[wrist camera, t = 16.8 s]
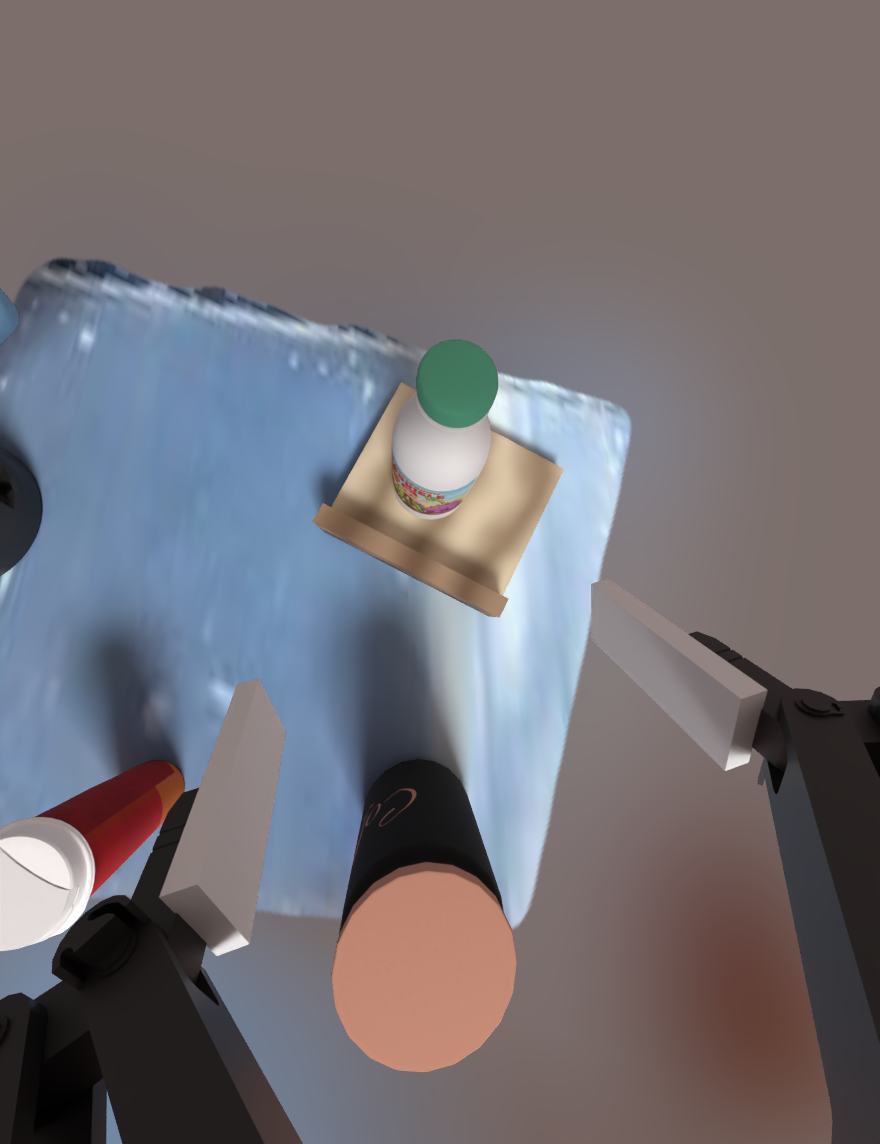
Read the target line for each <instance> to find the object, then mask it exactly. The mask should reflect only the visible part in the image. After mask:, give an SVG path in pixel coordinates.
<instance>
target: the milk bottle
mask: <svg viewBox="0 0 880 1144" xmlns="http://www.w3.org/2000/svg"><path fill="white" fill-rule="evenodd" d="M497 390H498V374H497V370H496V367H495V365H494V362H493V361H492V359H491V358H490V356H489V355H488V354H487V353H486V352H485V351H484V350H483V349H482V348H480V347H479V346H477V345H475V344H473V343H471V342H468V341H464V340H447V341H443V342H440V343H439V344H437V345H435V346H433V347H432V348H431V349H430V350H429V351H428V352H427V353H426V354H425V356H424V357H423V359H422V361H421V362H420V365H419V368H418V372H417V379H416V392H415V393H414V394H413V395H412V396H411V397H410V398H409V399H408V400H407V401H406V403H405V404H404V405H403V407H402V408H401V410H400V412H399V414H398V416H397V418H396V421H395V425H394V428H393V434H392V479H393V488H394V493H395V496H396V498H397V500H398V502H399V503H400V505H401V506H402V507H403V508H404V509H405V510H406V511H407V512H409V513H410V514H412V515H414V516H416V517H418V518H422V519H428V520H434V519H440V518H443V517H446V516H448V515H450V514H451V513H453V512H454V511H455V510H456V509H457V508H458V507H459V505H460V504H461V503H462V501H463V500H464V498H465V497H466V495H467V494H468V492H469V491H470V489H471V487H472V486H473V484H474V483H475V481H476V479H477V478H478V476H479V474H480V473H481V471H482V469H483V467H484V465H485V463H486V460H487V457H488V454H489V450H490V445H491V428H490V422H489V419H488V416H487V415H488V413H489V410H490V408H491V406H492V404H493V402H494V400H495V397H496V394H497Z"/></svg>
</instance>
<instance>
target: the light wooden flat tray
mask: <svg viewBox="0 0 880 1144" xmlns="http://www.w3.org/2000/svg"><path fill="white" fill-rule="evenodd" d="M415 392H416V390H415V389H413V388H411V387H409V386H407V385H406V384H404V383H402V382H401V383H400V385H399V387H398V389H397V391H396V392H395V394H394V396H393V398H392V399H391V401H390V403H389V405H388V407H387V408H386V410H385V412H384V414H383V416H382V417H381V419H380V421H379V423H378V424H377V426H376V428H375V430H374V432H373V433H372V435H371V437H370V439H369V440H368V442H367V444H366V446H365V448H364V449H363V451H362V453H361V455H360V456H359V458H358V460H357V462H356V464H355V465H354V467H353V469H352V471H351V473H350V474H349V476H348V478H347V480H346V481H345V483H344V485H343V487H342V489H341V490H340V492H339V494H338V496H337V497H336V499H335V501H334V503H333V505H332V506H331V507H330V506H328V505H326V504H324V503H323V504H322V506H321V507H320V509H319V511H318V513H317V514H316V516H315V518H314V520H313V522H314V523H315V524H316V525H317V526H318V527H319V528H320V529H321V530H323V531H324V532H326V533H328V534H329V535H331V536H333V537H335V538H337V539H339V540H341V541H343V542H345V543H347V544H349V545H351V546H353V547H355V548H357V549H359V550H361V551H363V552H365V553H366V554H368V555H370V556H372V557H374V558H376V559H378V560H380V561H382V562H384V563H386V564H388V565H390V566H392V567H394V568H396V569H398V570H400V571H402V572H403V573H405V574H407V575H409V576H411V577H413V578H415V579H417V580H419V581H421V582H423V583H425V584H427V585H429V586H431V587H433V588H435V589H437V590H439V591H440V592H442V593H444V594H446V595H448V596H450V597H452V598H454V599H456V600H458V601H460V602H462V603H464V604H466V605H468V606H470V607H472V608H474V609H475V610H477V611H479V612H481V613H483V614H485V615H487V616H492V617H500V615H501V613H502V611H503V609H504V607H505V605H506V603H507V601H508V598H506V597H504V596H503V594H504V592H505V590H506V588H507V586H508V584H509V582H510V580H511V578H512V575H513V573H514V571H515V569H516V567H517V565H518V563H519V561H520V559H521V557H522V555H523V553H524V551H525V549H526V547H527V544H528V542H529V540H530V538H531V536H532V534H533V532H534V530H535V528H536V526H537V524H538V522H539V520H540V518H541V516H542V513H543V511H544V509H545V507H546V505H547V503H548V501H549V499H550V497H551V495H552V493H553V491H554V489H555V487H556V485H557V482H558V480H559V478H560V476H561V474H562V472H563V470H564V469H563V468H561V467H559V466H557V465H555V464H553V463H552V462H550V461H548V460H546V459H544V458H542V457H540V456H538V455H537V454H535V453H533V452H531V451H529V450H527V449H525V448H524V447H522V446H520V445H518V444H516V443H514V442H512V441H510V440H509V439H507V438H505V437H503V436H501V435H499V434H497V433H495V432H494V431H492V430H491V445H490V450H489V454H488V457H487V460H486V463H485V465H484V467H483V469H482V471H481V473H480V474H479V476H478V478H477V479H476V481H475V483H474V484H473V486H472V487H471V489H470V491H469V492H468V494H467V495H466V497H465V498H464V500H463V501H462V503H461V504H460V505H459V507H458V508H457V509H456V510H455V511H454V512H453V513H451V514H450V515H448V516H446V517H443V518H440V519H434V520H428V519H422V518H418V517H416V516H414V515H412V514H410V513H409V512H407V511H406V510H405V509H404V508H403V507H402V506H401V505H400V503H399V502H398V500H397V498H396V496H395V493H394V488H393V479H392V434H393V428H394V425H395V421H396V418H397V416H398V414H399V412H400V410H401V408H402V407H403V405H404V404H405V403H406V401H407V400H408V399H409V398H410V397H411V396H412V395H413V394H414V393H415Z"/></svg>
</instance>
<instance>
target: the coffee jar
mask: <svg viewBox="0 0 880 1144" xmlns="http://www.w3.org/2000/svg"><path fill="white" fill-rule="evenodd" d="M516 963H517V959H516V953H515V946H514V940H513V934H512V929H511V927H510V925H509V922H508V920H507V918H506V916H505V914H504V911H503V905H502V899H501V895H500V892H499V889H498V886H497V883H496V880H495V877H494V874H493V871H492V868H491V865H490V862H489V859H488V856H487V853H486V850H485V847H484V844H483V841H482V838H481V835H480V832H479V829H478V826H477V823H476V820H475V817H474V814H473V811H472V808H471V805H470V802H469V799H468V796H467V794H466V792H465V790H464V788H463V786H462V784H461V782H460V780H459V779H458V778H457V777H456V776H455V775H454V774H453V773H452V772H451V771H450V770H449V769H448V768H446V767H444V766H442V765H440V764H438V763H436V762H434V761H427V760H419V759H416V760H411V761H406V762H401V763H399V764H397V765H396V766H394V767H392V768H390V769H388V770H387V771H385V772H384V773H383V774H382V776H381V777H380V778H379V779H378V780H377V781H376V782H375V783H374V784H373V786H372V788H371V790H370V792H369V794H368V796H367V798H366V801H365V806H364V811H363V816H362V820H361V825H360V830H359V835H358V840H357V845H356V850H355V855H354V860H353V865H352V870H351V875H350V880H349V884H348V889H347V894H346V899H345V904H344V909H343V915H342V921H341V927H340V932H339V938H338V941H337V946H336V951H335V957H334V963H333V969H332V974H331V975H332V983H333V992H334V1000H335V1007H336V1010H337V1012H338V1014H339V1017H340V1018H341V1021H342V1023H343V1025H344V1027H345V1029H346V1031H347V1034H348V1036H349V1037H350V1038H351V1039H352V1040H353V1041H354V1042H355V1043H356V1044H357V1045H358V1046H359V1047H360V1048H361V1049H362V1050H363V1051H364V1052H365V1053H366V1054H367V1055H368V1057H370V1058H372V1059H374V1060H376V1061H378V1062H380V1063H382V1064H384V1065H387V1066H389V1067H391V1068H393V1069H395V1070H403V1071H417V1072H428V1071H431V1070H435V1069H439V1068H442V1067H446V1066H449V1065H453V1064H455V1063H457V1062H458V1061H460V1060H461V1059H463V1058H464V1057H466V1056H467V1055H469V1054H470V1053H471V1052H473V1051H475V1050H476V1049H478V1048H479V1047H480V1046H481V1045H482V1044H483V1043H484V1042H485V1040H486V1039H487V1038H488V1037H489V1035H490V1034H491V1033H492V1032H493V1030H494V1029H495V1028H496V1027H497V1026H498V1024H499V1023H500V1022H501V1019H502V1017H503V1014H504V1012H505V1010H506V1007H507V1005H508V1003H509V1000H510V998H511V996H512V993H513V986H514V978H515V970H516Z"/></svg>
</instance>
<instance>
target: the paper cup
mask: <svg viewBox="0 0 880 1144" xmlns="http://www.w3.org/2000/svg"><path fill="white" fill-rule="evenodd" d="M184 789H185V785H184V779H183V776H182V774H181V772H180V771H179V770H178V768H177V767H176V766H174V765H173V764H171V763H169V762H166V761H162V760H154V761H149V762H146V763H143V764H141V765H139V766H137V767H134V768H132V769H130V770H128V771H126V772H124V773H122V774H120V775H118V776H116V777H114V778H112V779H110V780H107V781H105V782H103V783H101V784H99V785H97V786H95V787H92V788H90V789H88V790H86V791H84V792H83V793H81V794H79V795H77V796H75V797H73V798H71V799H69V800H67V801H65V802H63V803H62V804H60V805H58V806H56V807H54V808H52V809H50V810H48V811H46V812H44V813H42V814H40V815H38V816H36V817H32V818H27V819H22V820H19V821H16V822H13V823H11V824H9V825H7V826H5V827H4V828H2V829H0V951H4V950H12V949H17V948H22V947H25V946H27V945H31V944H34V943H38V942H41V941H44V940H46V939H47V938H49V937H51V936H54V935H57V934H60V933H62V932H63V931H65V930H66V929H67V928H69V927H70V926H71V925H72V924H73V923H74V922H75V921H76V920H77V919H78V918H79V917H80V915H81V914H82V913H83V912H84V910H85V908H86V905H87V902H88V899H89V897H90V896H91V895H92V894H93V893H94V892H95V891H96V890H97V889H98V888H99V887H100V886H101V885H102V884H103V883H104V882H105V881H106V880H107V879H108V878H109V877H110V876H111V875H112V874H113V873H114V872H115V871H116V870H117V869H118V868H119V867H120V866H121V865H122V864H123V863H124V862H125V861H126V860H127V859H128V858H129V857H130V856H131V855H132V854H133V853H134V852H135V851H136V850H137V849H138V848H139V847H140V846H141V845H142V843H143V842H144V841H145V840H146V839H147V838H148V837H149V836H150V835H151V834H152V833H153V832H154V831H155V830H156V829H157V828H158V827H159V826H160V825H161V824H162V823H163V822H164V820H165V818H166V815H167V813H168V811H169V810H170V809H171V808H172V806H173V805H174V804H175V802H176V801H177V800H178V798H179V797H180V796H181V794H182V793H184Z"/></svg>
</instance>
